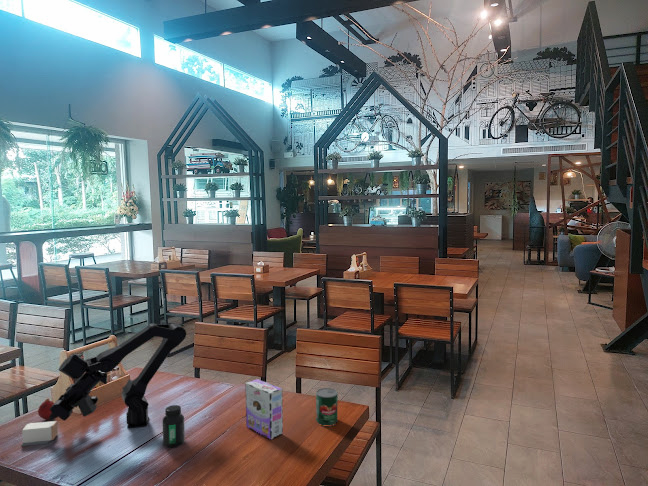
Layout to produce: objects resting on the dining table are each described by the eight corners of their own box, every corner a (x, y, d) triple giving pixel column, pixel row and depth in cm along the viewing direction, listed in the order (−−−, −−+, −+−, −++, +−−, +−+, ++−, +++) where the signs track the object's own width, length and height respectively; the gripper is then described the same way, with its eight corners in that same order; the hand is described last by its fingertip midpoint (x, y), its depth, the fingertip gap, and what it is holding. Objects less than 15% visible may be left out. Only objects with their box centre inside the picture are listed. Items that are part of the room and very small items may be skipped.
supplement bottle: (175, 450, 147) (174, 414, 146) (158, 446, 149) (157, 410, 148) (189, 439, 153) (188, 405, 152) (172, 436, 155) (171, 402, 154)
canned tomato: (325, 428, 161) (325, 398, 160) (311, 421, 167) (311, 391, 166) (342, 421, 166) (342, 392, 165) (327, 414, 172) (327, 386, 171)
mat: (55, 433, 157) (55, 432, 157) (48, 443, 151) (48, 442, 151) (30, 435, 156) (30, 434, 156) (21, 446, 149) (21, 444, 149)
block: (57, 420, 156) (27, 423, 154) (52, 427, 152) (22, 429, 150) (57, 433, 156) (28, 436, 154) (53, 440, 152) (22, 443, 150)
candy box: (283, 434, 157) (283, 388, 156) (270, 440, 153) (270, 393, 151) (258, 421, 166) (257, 377, 165) (245, 427, 162) (244, 382, 161)
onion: (48, 424, 164) (47, 402, 163) (34, 422, 165) (33, 401, 164) (60, 416, 169) (59, 396, 169) (47, 415, 171) (46, 394, 170)
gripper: (95, 411, 147) (60, 448, 146) (109, 389, 166) (78, 421, 164) (68, 390, 145) (31, 427, 144) (85, 369, 163) (53, 402, 162)
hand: (50, 419), depth 153 cm, fingers closed
